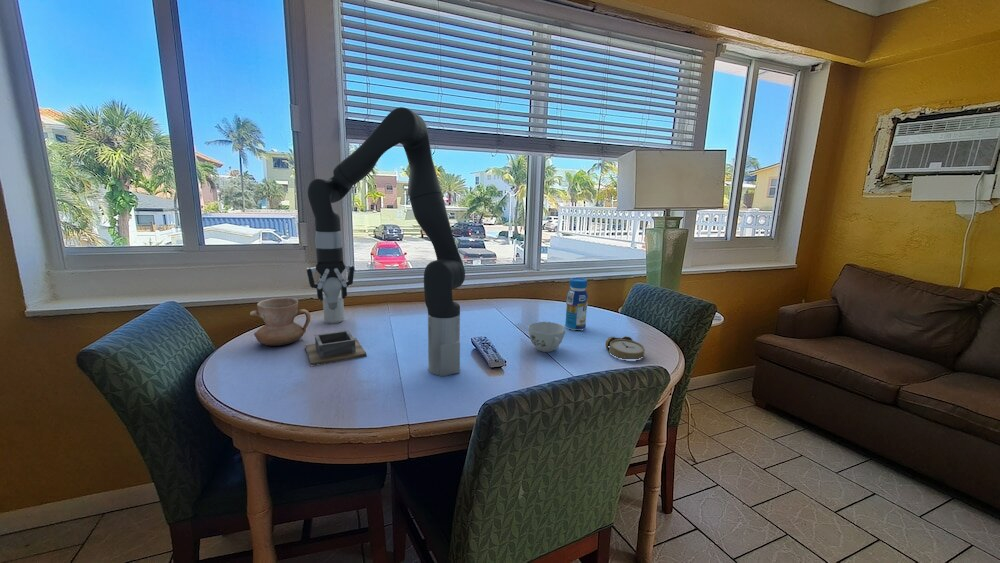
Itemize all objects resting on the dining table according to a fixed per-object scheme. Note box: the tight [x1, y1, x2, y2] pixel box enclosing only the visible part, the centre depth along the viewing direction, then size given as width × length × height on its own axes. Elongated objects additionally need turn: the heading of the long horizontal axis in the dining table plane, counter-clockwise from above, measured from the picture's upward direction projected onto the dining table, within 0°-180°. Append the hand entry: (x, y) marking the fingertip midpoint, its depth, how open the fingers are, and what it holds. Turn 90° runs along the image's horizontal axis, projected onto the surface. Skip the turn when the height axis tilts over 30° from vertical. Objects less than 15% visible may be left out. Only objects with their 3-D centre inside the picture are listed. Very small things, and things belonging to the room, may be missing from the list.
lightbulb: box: [322, 277, 342, 310], centre depth 126 cm, size 6×6×11 cm
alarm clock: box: [604, 336, 646, 359], centre depth 136 cm, size 11×5×15 cm
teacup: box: [527, 321, 566, 353], centre depth 136 cm, size 15×12×8 cm
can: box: [322, 291, 345, 324], centre depth 160 cm, size 8×8×12 cm
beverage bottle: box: [564, 277, 589, 331], centre depth 159 cm, size 8×8×20 cm
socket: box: [305, 330, 367, 366], centre depth 129 cm, size 16×16×5 cm
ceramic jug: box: [249, 297, 311, 347], centre depth 136 cm, size 18×14×14 cm
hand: (332, 299), depth 126 cm, fingers closed on lightbulb, 6 cm apart
